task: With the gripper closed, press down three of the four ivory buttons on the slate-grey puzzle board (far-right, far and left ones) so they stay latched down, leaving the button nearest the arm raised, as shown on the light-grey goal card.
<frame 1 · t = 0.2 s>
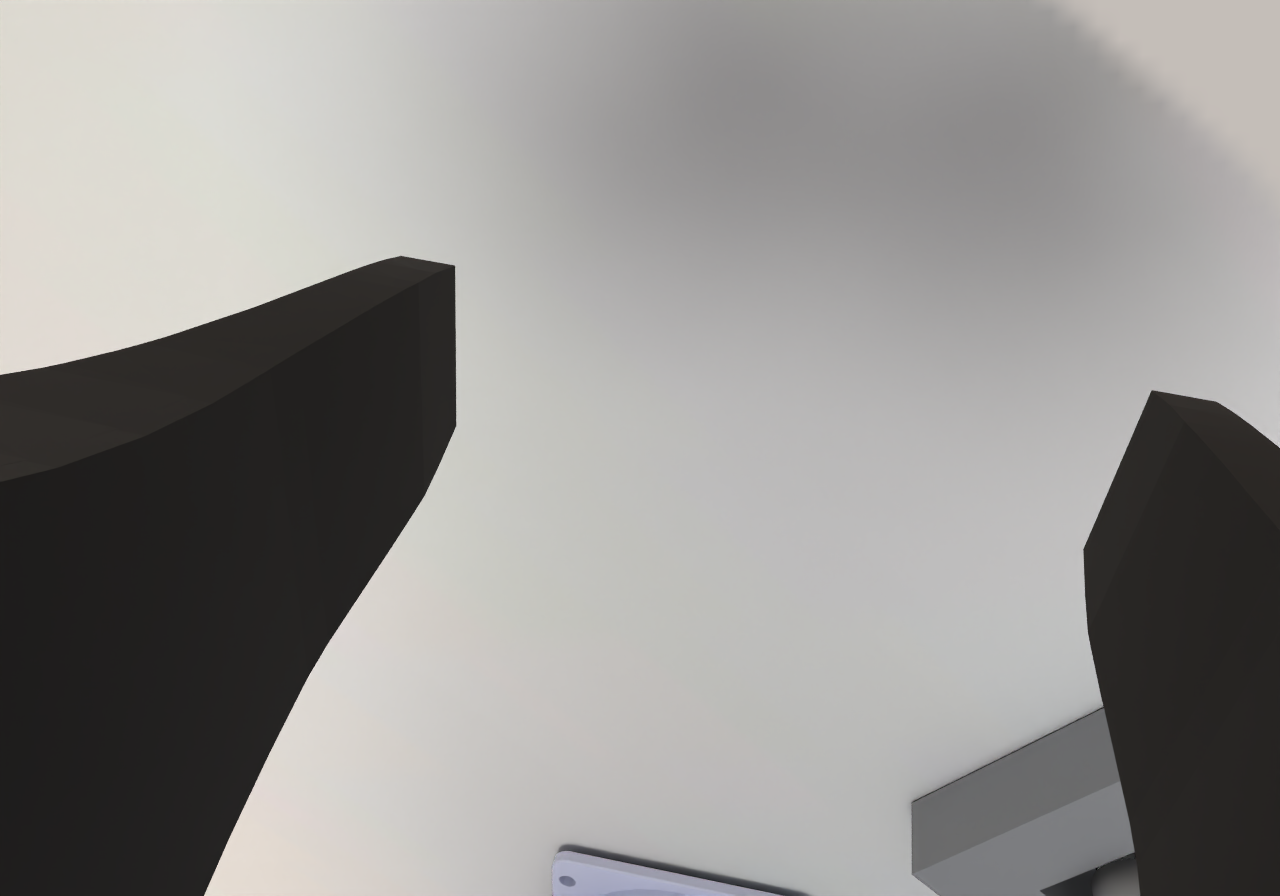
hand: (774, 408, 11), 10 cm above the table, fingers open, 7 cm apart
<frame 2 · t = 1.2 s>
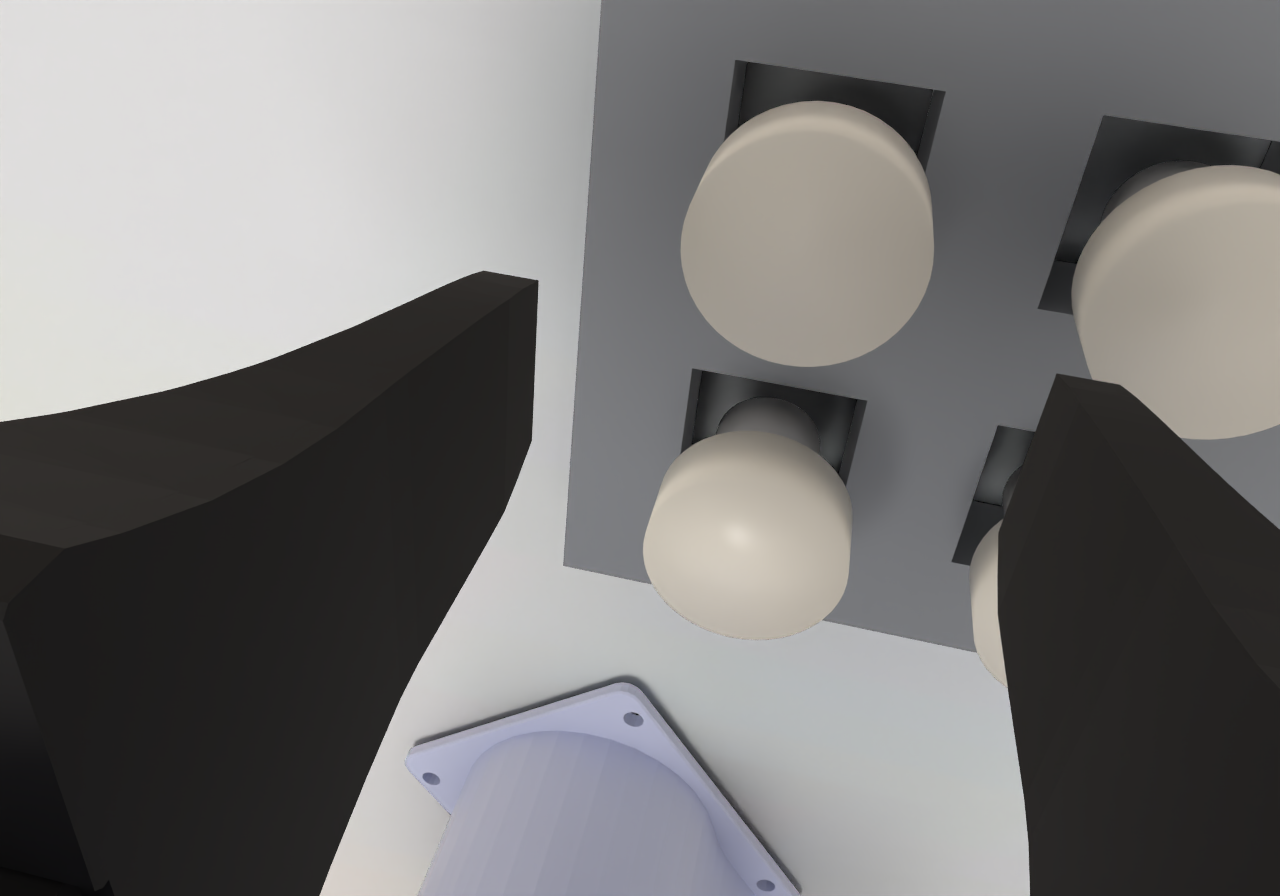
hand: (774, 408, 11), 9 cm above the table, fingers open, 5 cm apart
button C: (813, 207, 16), point 4 cm above the table, slide at 0.0 cm
button D: (1193, 270, 15), point 4 cm above the table, slide at 0.0 cm
button B: (1070, 560, 19), point 4 cm above the table, slide at 0.0 cm
board: (945, 301, 20), on the table
button A: (756, 497, 19), point 4 cm above the table, slide at 0.0 cm
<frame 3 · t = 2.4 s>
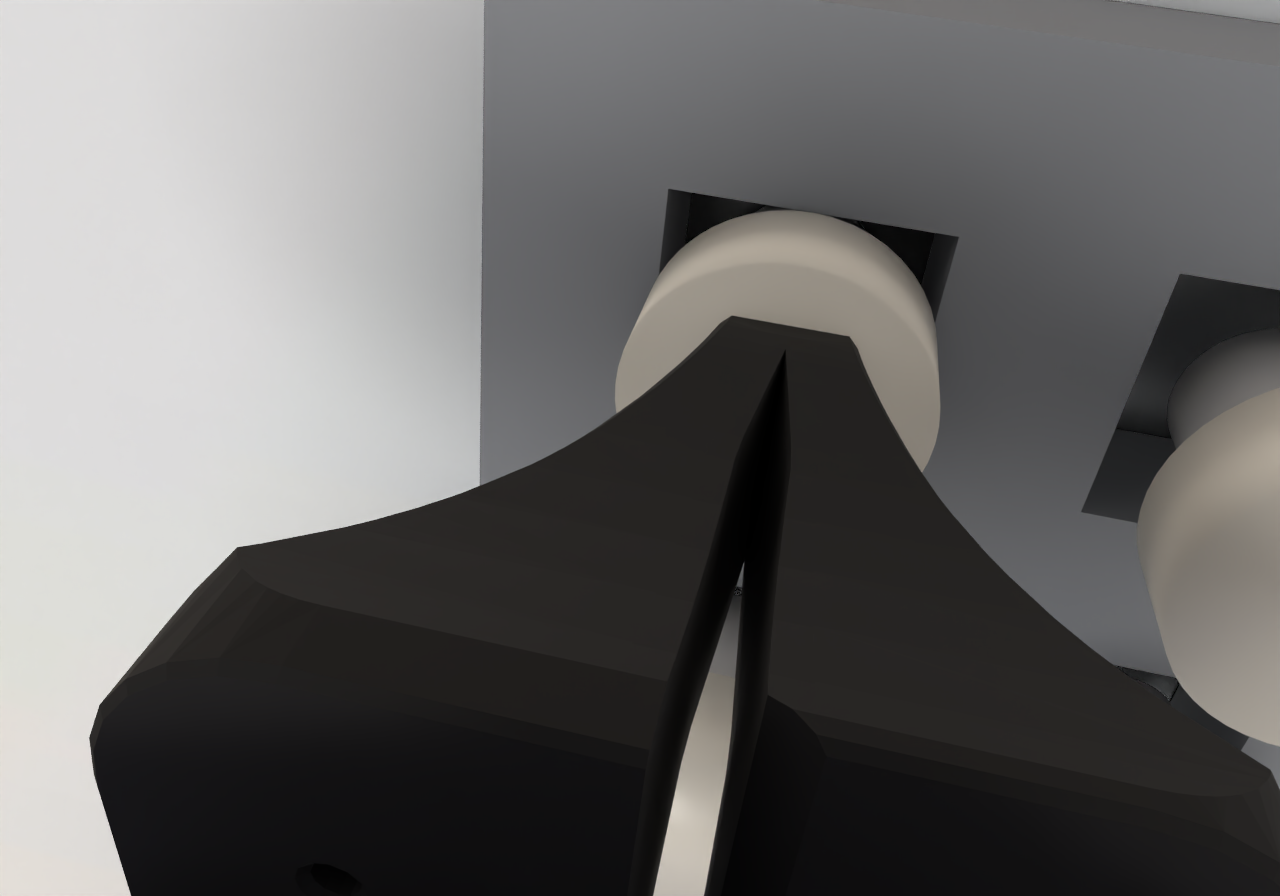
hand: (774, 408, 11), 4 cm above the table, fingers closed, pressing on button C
button C: (788, 333, 13), point 2 cm above the table, slide at 1.5 cm, touching gripper
button B: (1122, 831, 14), point 4 cm above the table, slide at 0.0 cm
board: (954, 469, 16), on the table
button A: (709, 737, 15), point 4 cm above the table, slide at 0.0 cm
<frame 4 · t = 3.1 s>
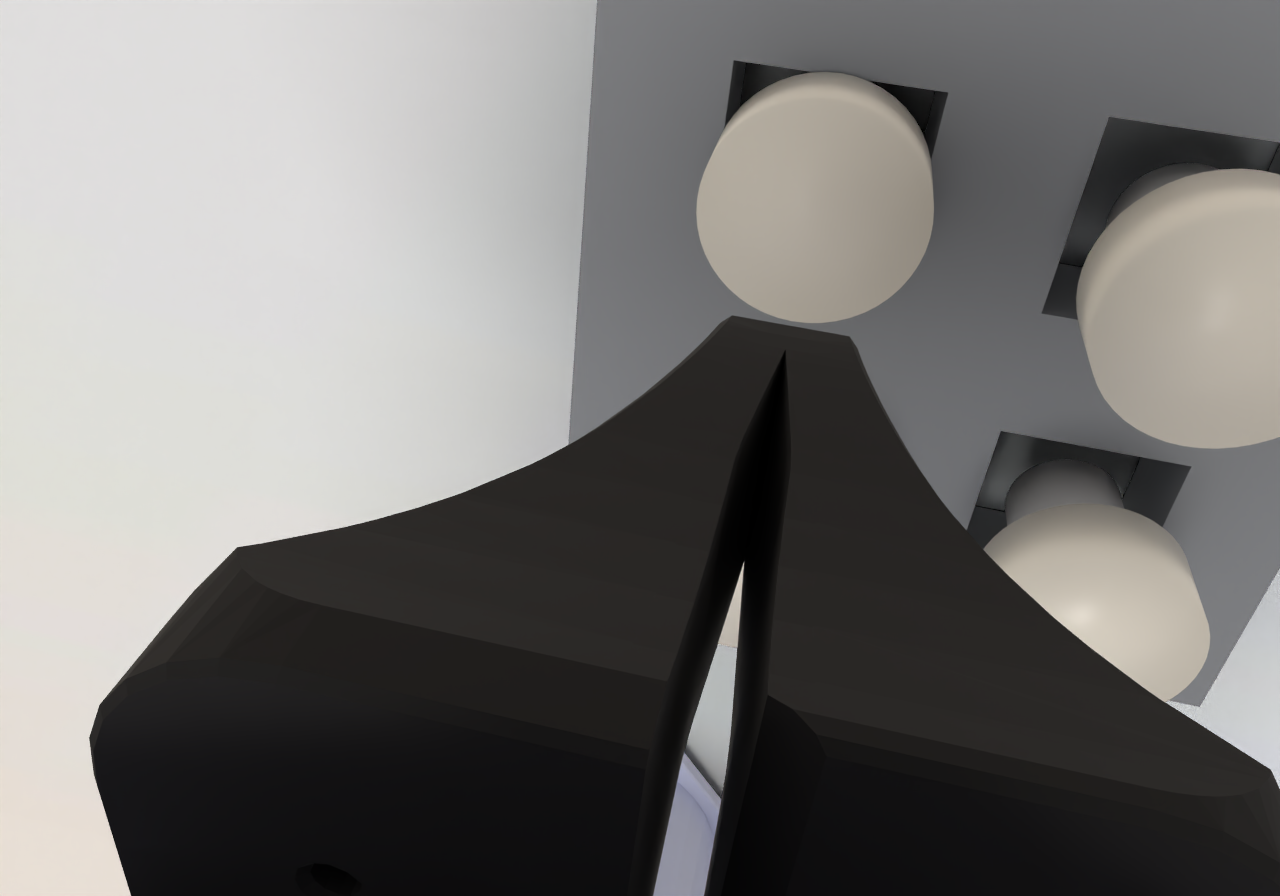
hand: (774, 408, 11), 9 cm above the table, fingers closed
button C: (820, 174, 17), point 2 cm above the table, slide at 1.6 cm
button D: (1201, 275, 15), point 4 cm above the table, slide at 0.0 cm
button B: (1074, 568, 18), point 4 cm above the table, slide at 0.0 cm
board: (947, 304, 20), on the table
button A: (755, 504, 19), point 4 cm above the table, slide at 0.0 cm
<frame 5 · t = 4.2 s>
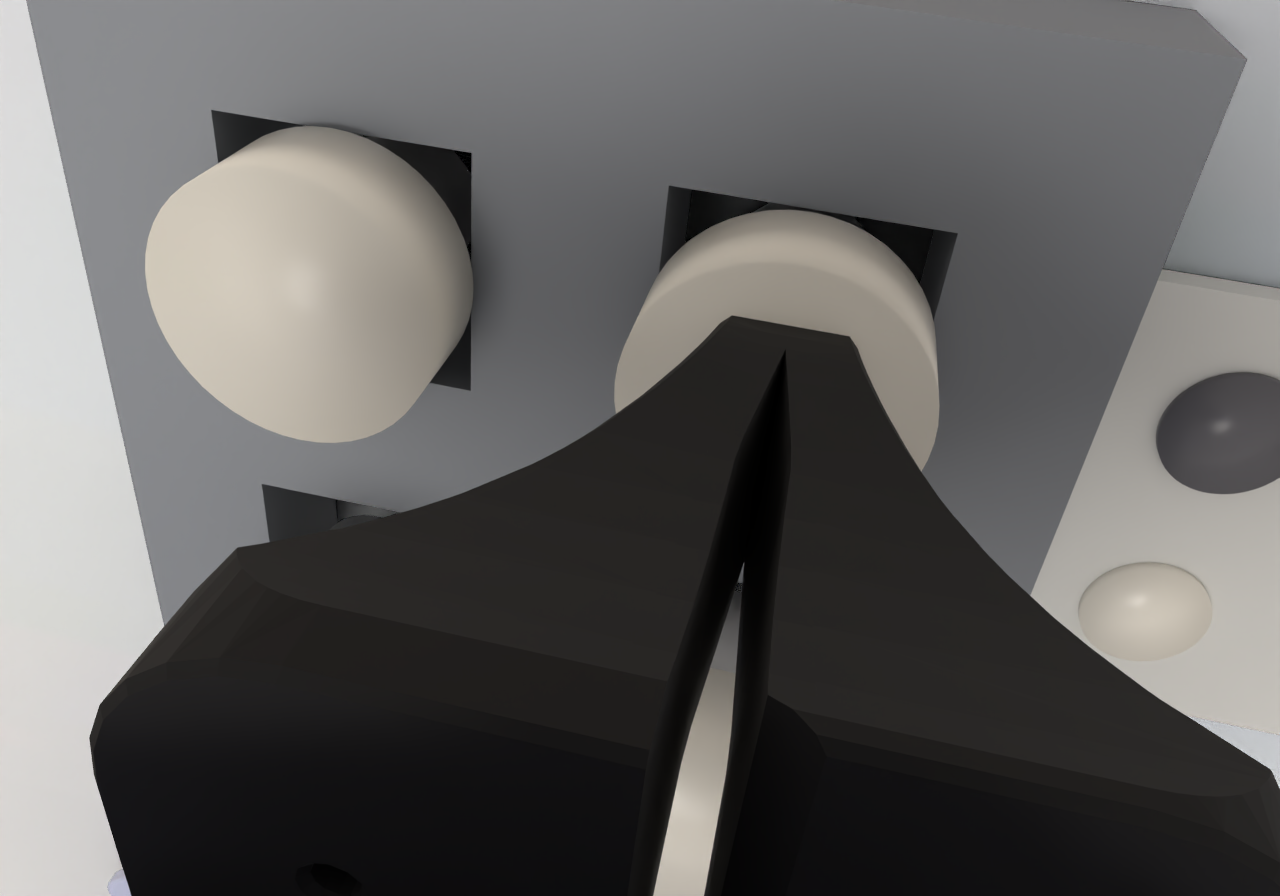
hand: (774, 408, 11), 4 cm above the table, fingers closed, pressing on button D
button C: (356, 250, 14), point 2 cm above the table, slide at 1.6 cm
button D: (787, 332, 13), point 2 cm above the table, slide at 1.5 cm, touching gripper
button B: (709, 733, 15), point 4 cm above the table, slide at 0.0 cm
board: (590, 396, 16), on the table
button A: (331, 648, 15), point 4 cm above the table, slide at 0.0 cm
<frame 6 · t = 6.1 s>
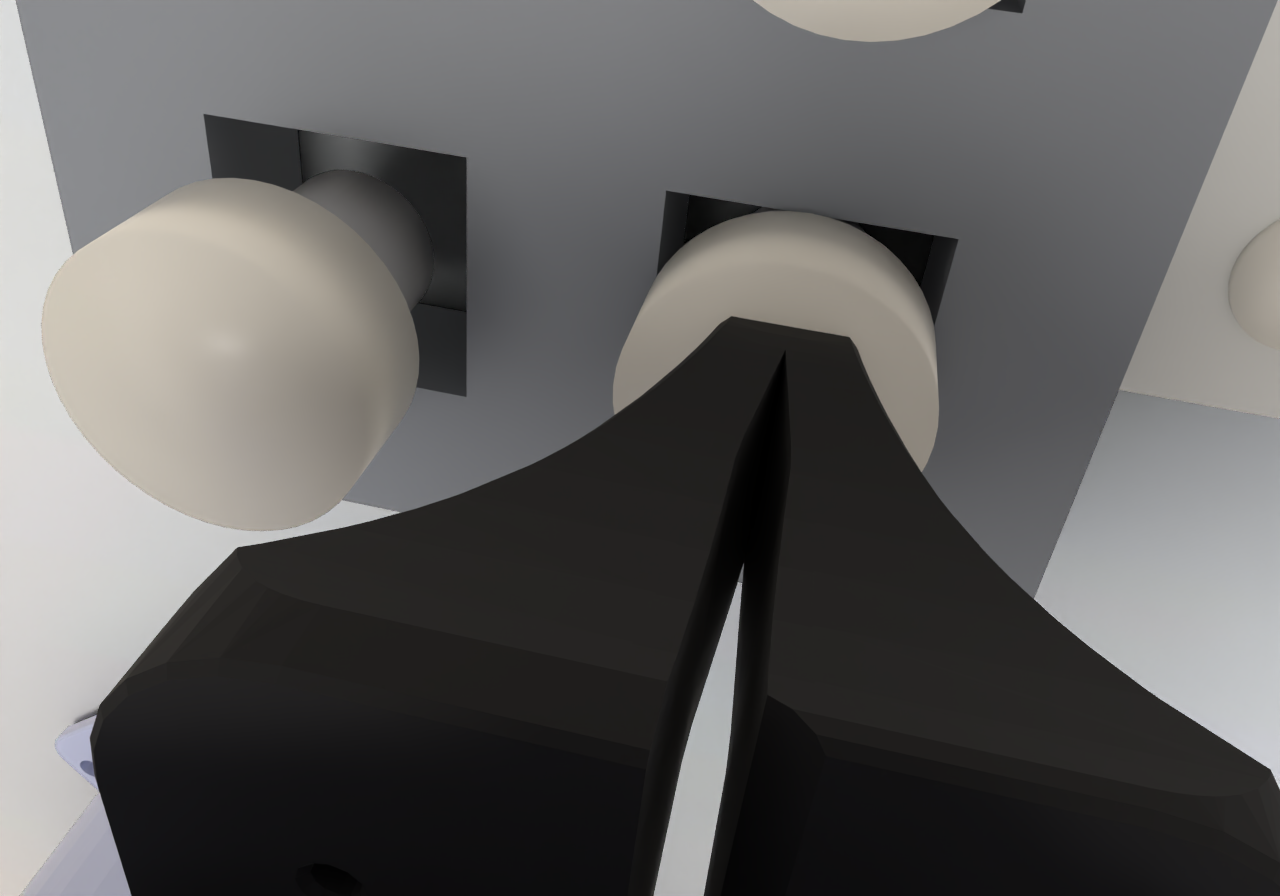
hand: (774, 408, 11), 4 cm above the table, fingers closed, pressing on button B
button B: (786, 334, 13), point 2 cm above the table, slide at 1.6 cm, touching gripper
board: (616, 22, 13), on the table
button A: (290, 311, 12), point 4 cm above the table, slide at 0.0 cm
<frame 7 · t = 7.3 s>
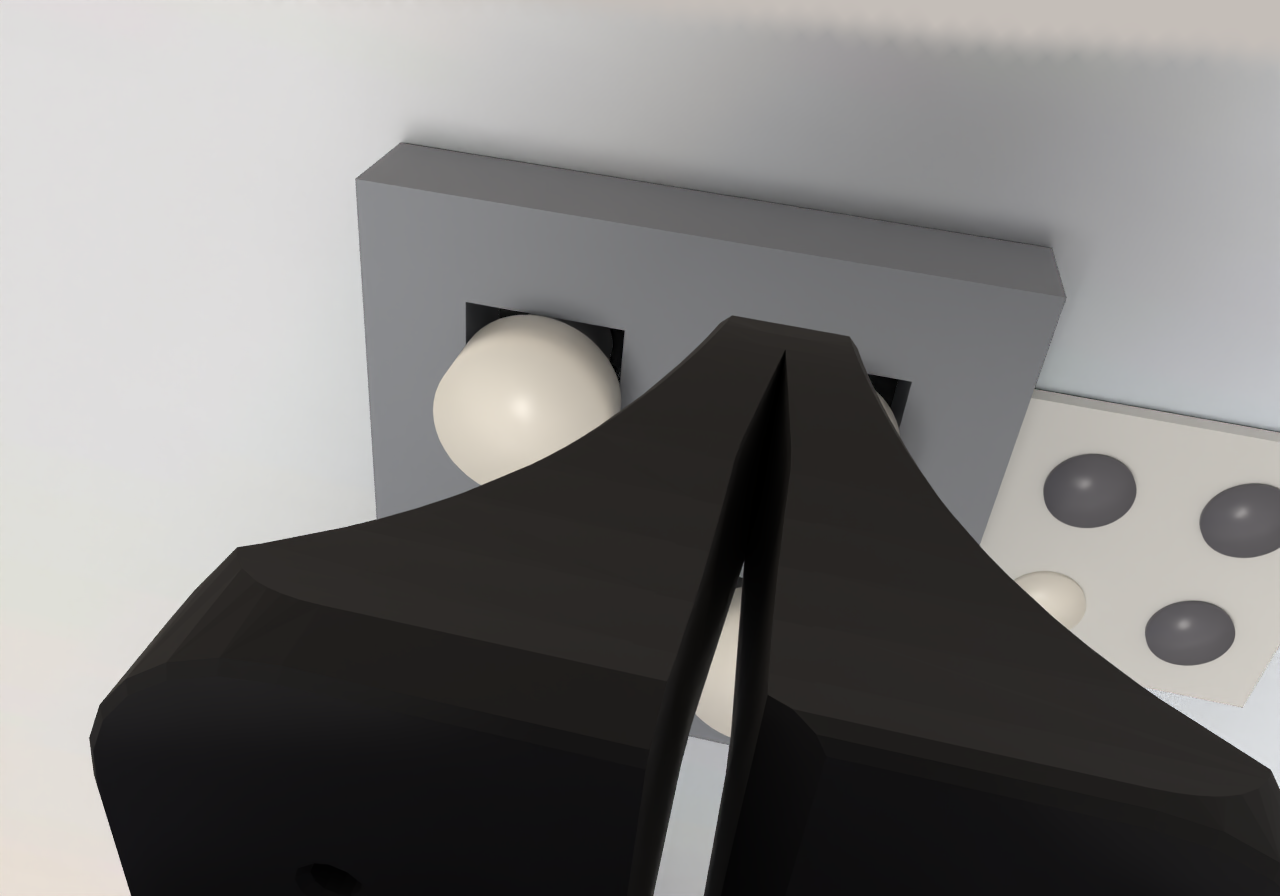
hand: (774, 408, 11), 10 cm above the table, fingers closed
button C: (544, 380, 22), point 2 cm above the table, slide at 1.6 cm
button D: (812, 430, 21), point 2 cm above the table, slide at 1.6 cm
button B: (768, 630, 24), point 2 cm above the table, slide at 1.6 cm
goal card: (1136, 551, 24), on the table
board: (678, 462, 25), on the table
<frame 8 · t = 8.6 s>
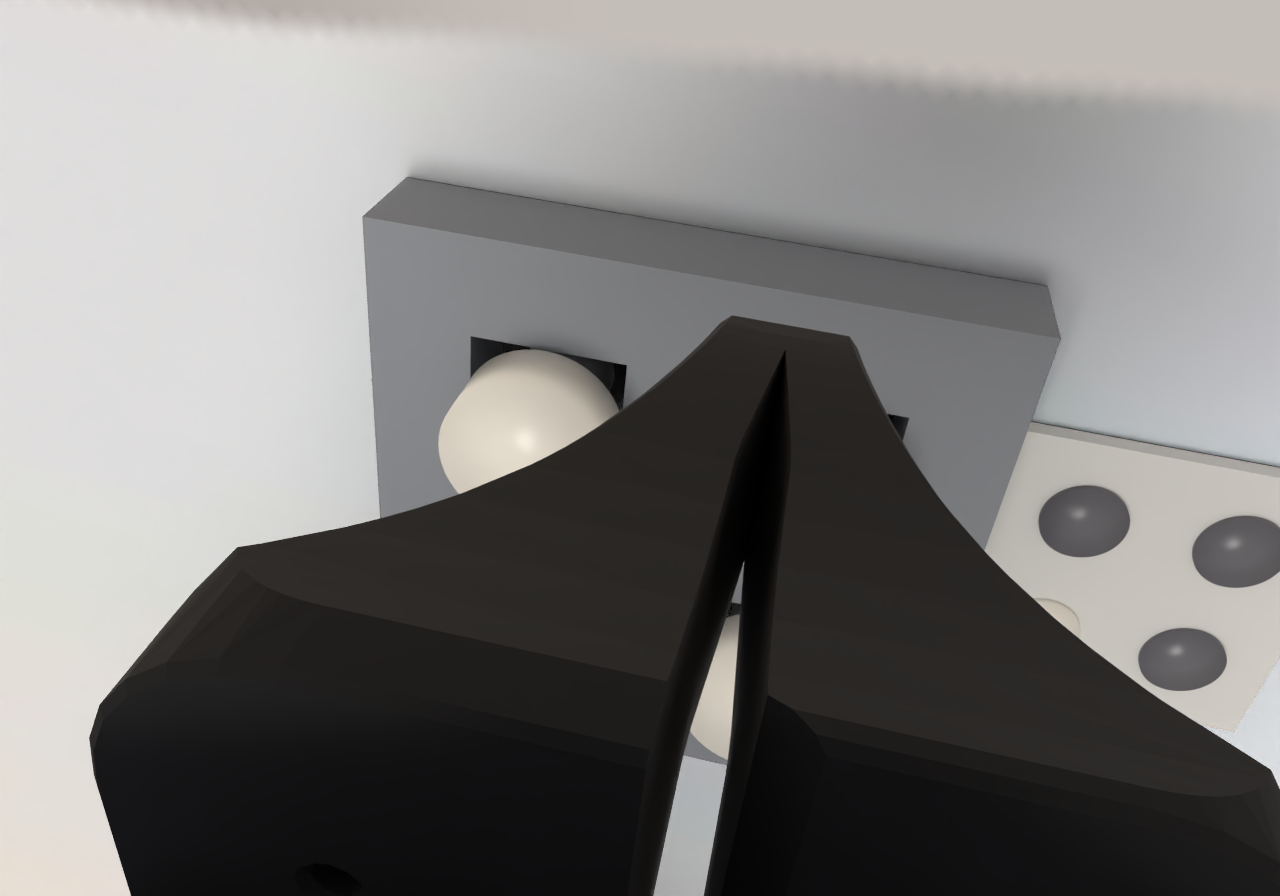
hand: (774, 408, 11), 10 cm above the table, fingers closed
button C: (548, 411, 22), point 2 cm above the table, slide at 1.6 cm
button B: (767, 655, 25), point 2 cm above the table, slide at 1.6 cm
goal card: (1130, 579, 24), on the table
board: (679, 488, 25), on the table
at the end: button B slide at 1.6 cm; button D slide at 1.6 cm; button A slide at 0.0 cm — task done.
